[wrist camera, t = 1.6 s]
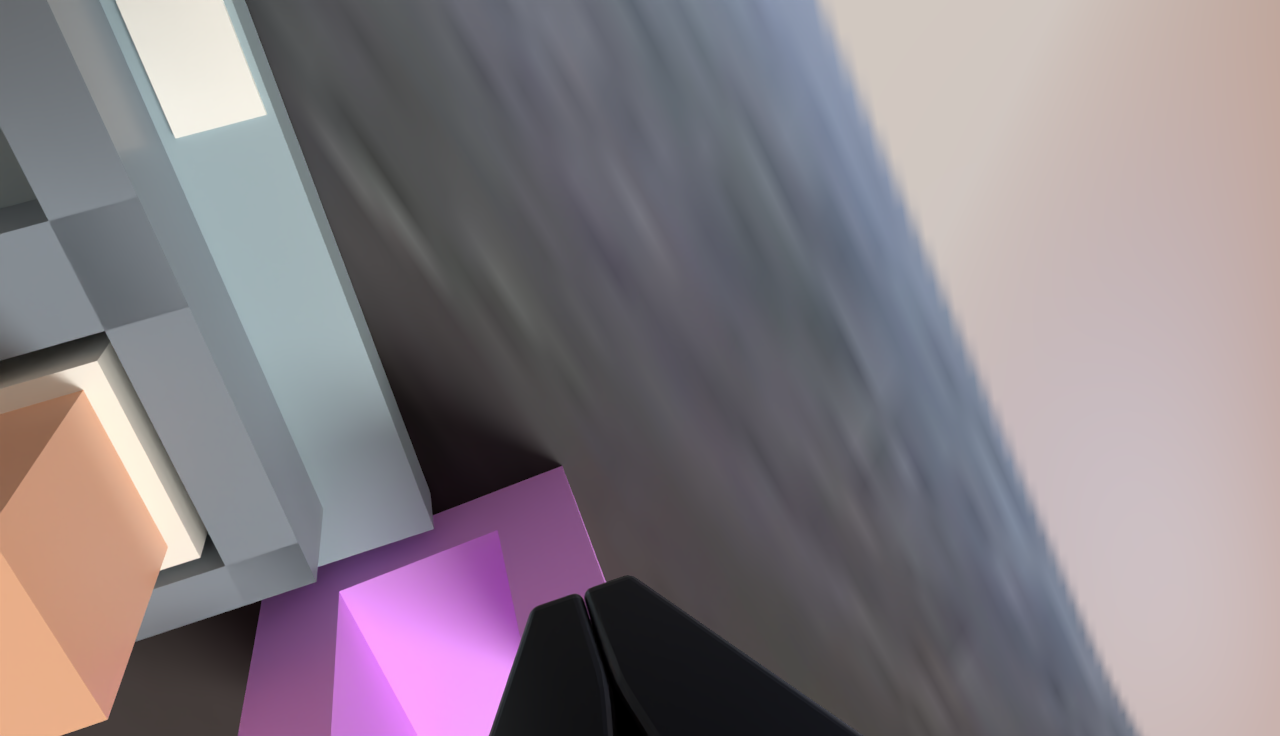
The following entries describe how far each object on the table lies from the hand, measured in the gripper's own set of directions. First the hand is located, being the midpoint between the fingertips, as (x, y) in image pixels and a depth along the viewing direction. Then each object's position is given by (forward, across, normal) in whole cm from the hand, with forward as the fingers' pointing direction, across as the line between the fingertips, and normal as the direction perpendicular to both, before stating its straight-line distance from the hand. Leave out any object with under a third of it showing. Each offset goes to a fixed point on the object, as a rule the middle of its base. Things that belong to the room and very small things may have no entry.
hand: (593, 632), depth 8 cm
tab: (+7, +6, 0) cm, 10 cm away
